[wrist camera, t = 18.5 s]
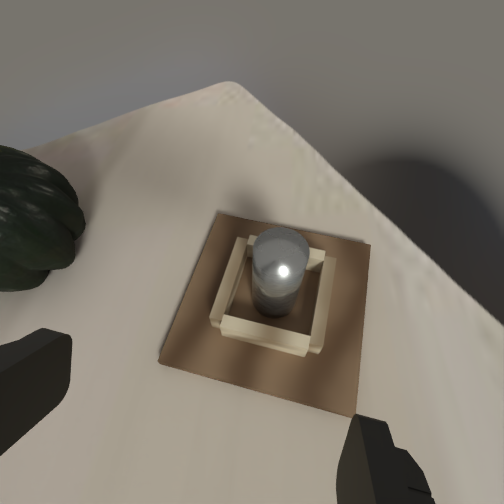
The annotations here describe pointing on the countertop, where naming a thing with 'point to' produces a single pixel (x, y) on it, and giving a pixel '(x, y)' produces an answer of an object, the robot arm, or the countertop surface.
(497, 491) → the countertop surface
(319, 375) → the socket board
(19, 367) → the robot arm
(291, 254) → the steel cylinder
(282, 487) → the countertop surface
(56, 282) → the countertop surface
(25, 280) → the squash
